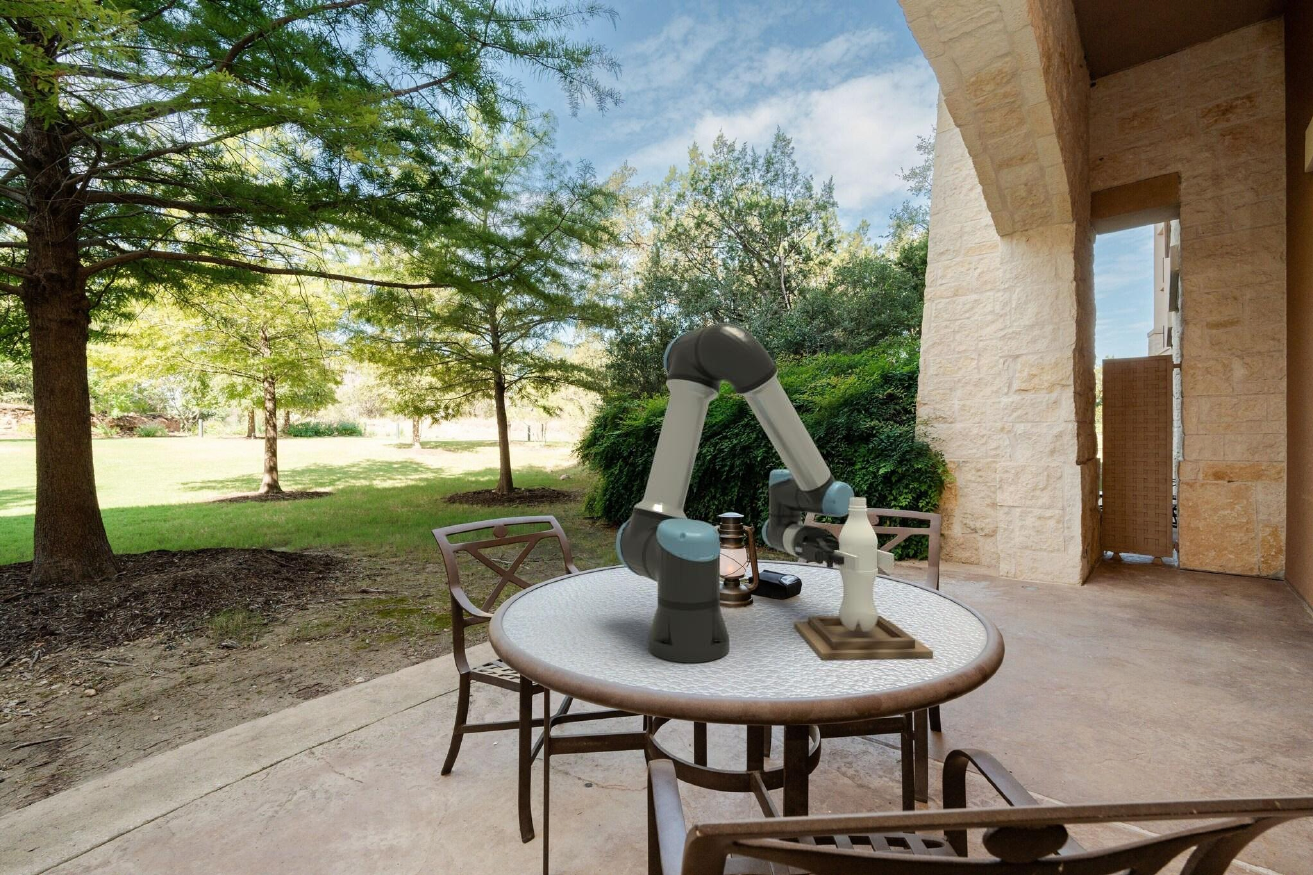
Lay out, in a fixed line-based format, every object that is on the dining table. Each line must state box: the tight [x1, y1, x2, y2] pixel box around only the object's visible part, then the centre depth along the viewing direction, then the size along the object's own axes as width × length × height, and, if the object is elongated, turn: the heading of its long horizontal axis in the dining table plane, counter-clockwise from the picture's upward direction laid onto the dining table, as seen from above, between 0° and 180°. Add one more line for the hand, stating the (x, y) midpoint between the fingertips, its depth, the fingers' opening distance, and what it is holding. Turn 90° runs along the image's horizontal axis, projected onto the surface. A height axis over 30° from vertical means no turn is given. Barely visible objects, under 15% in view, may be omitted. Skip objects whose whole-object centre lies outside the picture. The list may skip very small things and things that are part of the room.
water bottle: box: [838, 496, 879, 632], centre depth 113 cm, size 7×7×25 cm
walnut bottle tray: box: [793, 615, 934, 661], centre depth 113 cm, size 20×18×3 cm
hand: (874, 562), depth 108 cm, fingers closed on water bottle, 7 cm apart
